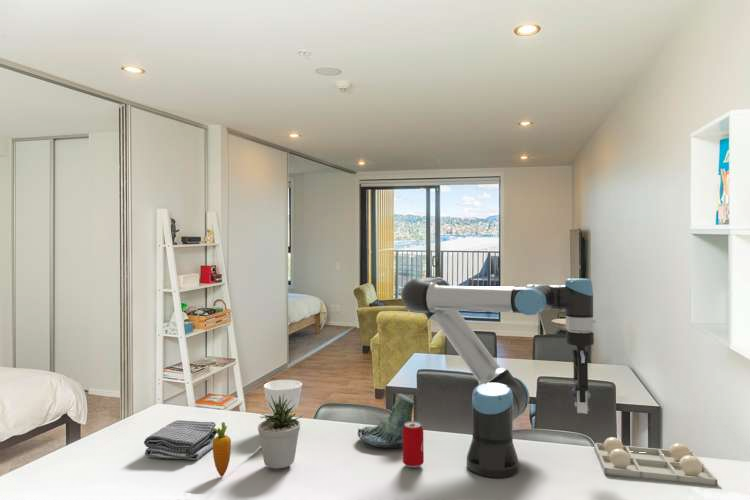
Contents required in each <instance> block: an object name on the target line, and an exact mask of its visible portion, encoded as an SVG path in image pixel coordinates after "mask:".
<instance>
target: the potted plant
mask: <svg viewBox="0 0 750 500" xmlns="http://www.w3.org/2000/svg"><path fill="white" fill-rule="evenodd" d="M271 397H272V395H271ZM283 400H284V393H283ZM283 400H282V407H281V397H280V396H279V403H278V402H276V400H275V402H276V403H275V402H274V400H273V398H272V401H273V404H274V407H275V411H276V412H275V411H274V409H273V408H272V406H271V405H270V403H269V405H270V407H271V408H272V410H273V412H274V413H273V412H272V413H273V415H271V414H270V415H268V414H264V413H261V415H262V416H261V417H260V420H261V419H263V418H264V419H265V420H263V421H261V422H259V424H258V425H257V431H258V434H259V439H260V445H261V446H260V447H261V452H262V459H263V463H264V465H265V467H268V468H270V469H283V468H287V467H290V466H291V465H292V464H294V462H295V458H296V453H297V452H296V451H297V445H298V439H299V433H300V432H299V431H300V428H301V422H300V421H299V420H298V419H301V418H302V417H303V416H304V414H303V415H300V416H299V417H296V418H293V417H294V416H296V414H297V413H294V411H292V412H290V411H291V410H292V408H293V407H294V406H293V407H292V408H290V409H288V407H287V405H288V404H289V403H290V401H289V403H288V404H287V405H286V404H285V403H286V401H287V400H288V399H287V400H286V401H285V402H284V403H283ZM268 402H269V401H268ZM285 405H286V406H285ZM284 406H285V408H284ZM286 407H287V411H285V410H286ZM288 415H289V416H288Z"/></svg>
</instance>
